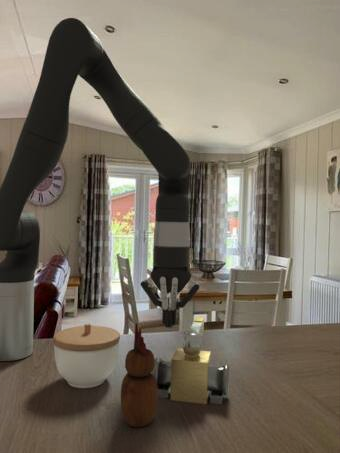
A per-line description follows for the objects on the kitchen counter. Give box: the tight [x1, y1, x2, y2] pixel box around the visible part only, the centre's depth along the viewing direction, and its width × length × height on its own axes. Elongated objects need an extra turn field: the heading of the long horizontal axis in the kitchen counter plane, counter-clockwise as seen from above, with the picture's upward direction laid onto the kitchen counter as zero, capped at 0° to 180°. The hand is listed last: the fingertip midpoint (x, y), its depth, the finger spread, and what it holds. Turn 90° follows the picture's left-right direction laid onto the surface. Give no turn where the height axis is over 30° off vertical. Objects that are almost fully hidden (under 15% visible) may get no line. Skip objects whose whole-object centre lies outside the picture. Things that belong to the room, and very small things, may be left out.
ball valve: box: [151, 348, 230, 405], centre depth 70 cm, size 14×6×8 cm, turn 79°
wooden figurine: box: [120, 322, 158, 428], centre depth 60 cm, size 7×6×15 cm
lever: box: [182, 316, 205, 355], centre depth 75 cm, size 14×3×3 cm, turn 169°
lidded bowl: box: [53, 323, 121, 389], centre depth 75 cm, size 13×13×11 cm
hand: (169, 326), depth 80 cm, fingers closed
